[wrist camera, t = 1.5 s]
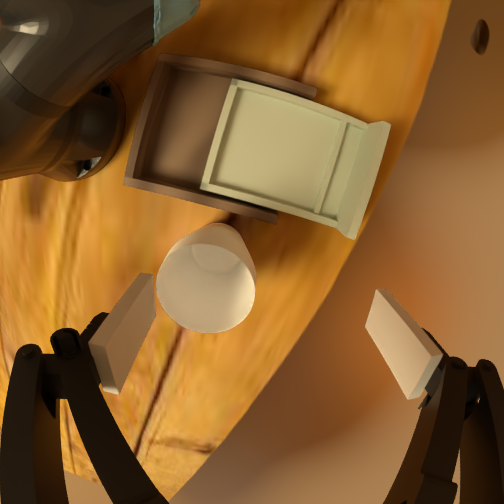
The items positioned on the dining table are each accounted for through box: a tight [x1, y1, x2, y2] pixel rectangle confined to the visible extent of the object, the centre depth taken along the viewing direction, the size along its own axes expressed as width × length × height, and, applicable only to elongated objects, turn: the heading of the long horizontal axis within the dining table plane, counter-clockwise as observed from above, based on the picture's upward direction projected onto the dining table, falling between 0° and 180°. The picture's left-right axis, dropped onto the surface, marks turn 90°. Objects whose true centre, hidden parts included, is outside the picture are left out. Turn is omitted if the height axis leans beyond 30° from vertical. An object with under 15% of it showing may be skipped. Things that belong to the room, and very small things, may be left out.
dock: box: [123, 53, 317, 225], centre depth 29 cm, size 18×16×3 cm
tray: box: [200, 78, 391, 240], centre depth 28 cm, size 17×13×6 cm
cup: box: [156, 223, 256, 333], centre depth 29 cm, size 9×9×12 cm
